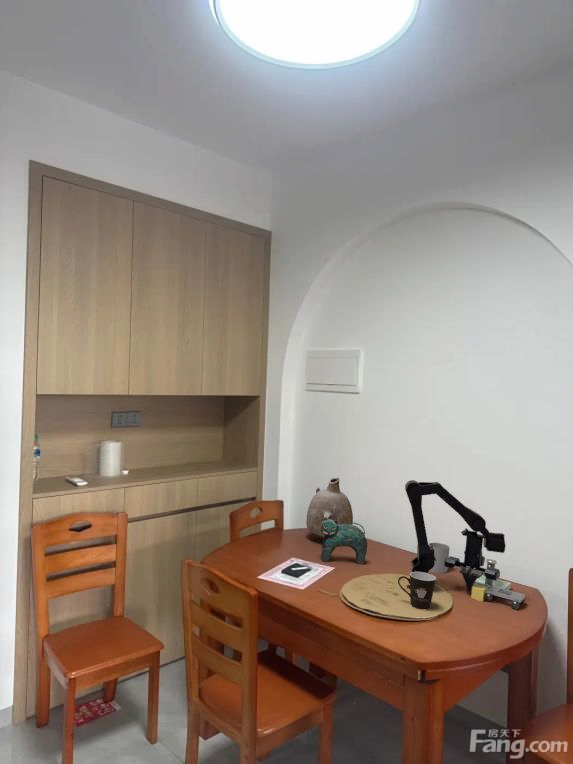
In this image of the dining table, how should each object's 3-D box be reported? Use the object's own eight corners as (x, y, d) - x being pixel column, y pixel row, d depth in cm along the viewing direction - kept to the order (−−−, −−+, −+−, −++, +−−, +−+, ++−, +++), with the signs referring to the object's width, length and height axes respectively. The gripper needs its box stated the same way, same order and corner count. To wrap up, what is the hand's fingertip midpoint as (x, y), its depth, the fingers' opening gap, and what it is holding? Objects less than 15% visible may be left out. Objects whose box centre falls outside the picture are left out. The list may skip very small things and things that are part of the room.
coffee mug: (437, 607, 185) (440, 577, 185) (425, 613, 179) (428, 582, 179) (407, 596, 193) (409, 567, 193) (394, 601, 186) (397, 572, 187)
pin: (492, 588, 207) (495, 562, 207) (482, 585, 209) (485, 560, 209) (494, 586, 210) (497, 561, 210) (484, 583, 212) (487, 558, 212)
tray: (502, 596, 202) (503, 589, 202) (465, 585, 209) (466, 579, 210) (510, 589, 210) (510, 582, 210) (474, 579, 218) (474, 573, 218)
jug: (300, 532, 266) (305, 471, 266) (342, 534, 270) (347, 474, 270) (311, 548, 242) (317, 480, 242) (357, 549, 246) (363, 483, 246)
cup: (439, 566, 232) (441, 542, 232) (451, 572, 224) (453, 548, 225) (422, 566, 229) (424, 542, 229) (434, 573, 221) (436, 548, 222)
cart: (525, 603, 196) (526, 593, 196) (519, 610, 188) (519, 600, 188) (490, 593, 203) (491, 584, 203) (483, 600, 195) (484, 590, 195)
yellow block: (482, 601, 194) (483, 590, 194) (471, 598, 197) (472, 587, 197) (486, 597, 198) (487, 586, 198) (475, 594, 201) (476, 583, 201)
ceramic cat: (318, 562, 222) (322, 513, 223) (316, 557, 229) (320, 509, 229) (366, 566, 223) (370, 517, 223) (363, 561, 230) (367, 513, 230)
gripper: (505, 551, 201) (501, 593, 201) (455, 538, 212) (451, 578, 212) (497, 557, 192) (493, 601, 192) (445, 543, 203) (441, 585, 203)
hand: (469, 591), depth 200 cm, fingers closed
